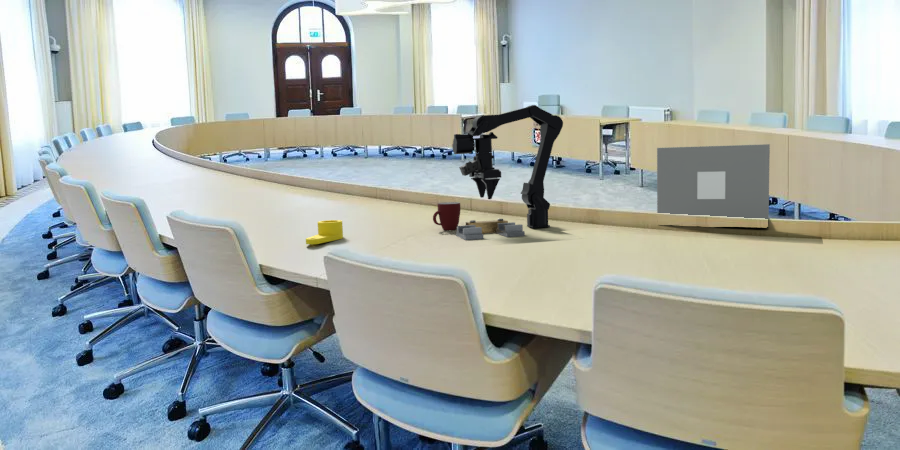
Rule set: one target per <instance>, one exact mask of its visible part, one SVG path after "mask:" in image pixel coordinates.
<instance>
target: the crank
mask: <svg viewBox="0 0 900 450" xmlns="http://www.w3.org/2000/svg"><path fill="white" fill-rule="evenodd" d="M343 227H344V226H343V220H342V219H328V220H319V221H317V234H315V235H312V236H309V237H307V238H305V244H306V245H319V244H324V243H328V242H333V241H338V240H341V239H343V238H344V232H343V231H344V229H343Z"/></svg>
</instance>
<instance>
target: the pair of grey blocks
mask: <svg viewBox="0 0 900 450" xmlns="http://www.w3.org/2000/svg"><path fill="white" fill-rule="evenodd" d="M523 225H524V224H516V222H515V221H513V222H508V223H497V229H496V232H495V234H498V235H500V236H503V237H505V238H517V237H525V236H526V235H525V230H523V228H524V227H523ZM455 236H456V237H458V238H460V239H462V240H464V241H472V240H484V233H482V227H476V225H466V224H464V225H458V226H457V229H456V231H455Z"/></svg>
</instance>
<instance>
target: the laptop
mask: <svg viewBox="0 0 900 450" xmlns="http://www.w3.org/2000/svg"><path fill="white" fill-rule="evenodd" d="M770 147H771V144H770V143H769V144H767V143H766V144H741V145H740V144H739V145H738V144H737V145H733V144H732V145H706V146H679V147H678V146H677V147H675V146H673V147H657V148H656V165H657V166H656V197H657V199H656V203H657V204H656V207H657V208H656V211H657V212H656V213H670V214H688V215H710V216H727V217H744V218H765V219H769V218H770V216H769V215H770V213H769V211H770V153H771V152H770V151H771V150H770V149H771V148H770ZM769 220H770V219H769Z"/></svg>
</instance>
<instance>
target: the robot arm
mask: <svg viewBox="0 0 900 450" xmlns="http://www.w3.org/2000/svg"><path fill="white" fill-rule="evenodd" d="M525 119H532V121H533V122H534V123H536V124H537V125H538V126H539V127H540V129H539V133H540V135H539V136H540V142H539V145H538V146H539V147H538V149H537V153H536V157H535V160H534V165H533V169H532V171H531V177H530V179H529V181H528V182H523V184H522V189H521V192H520V195H521V200H522V202H523V203H524V204H525V205H526V207H527V209H528V213H526V223H527V224H526V226H527V227H530V228H532V229H534V228H535V229H536V228H537V229H538V228H550V227H551V225H550V224H549V210H550V207H551V203H550V202H549V201H547V199H545V198H544V197H545V185H544V180H545V176H546V173H547V170H548V164H549V161H550V158H551V153H552V151H553V147H554V143H555V141H556V139H558V137H559V135H560V134H561V131H562V128H563V127H564V120H562V118H561V116H559V115H556V114H555V115H553V114H552V113H551V112H548V111H547V110H544V109H542V108H540V107H539V106H538V105H535V104H532V105H528V106H525V107H523V108H518V109H514V110H511V111H507V112H503V113H499V114H486V115H484V114H483V115H478V116H476V117H474V118H473V120H472V126H471V128H470V129H469V131H468V133H467V134H465V133H463V134H460V133H455V134H453V140H452V152H453V154H454V155H465V154H467V155H469V154H472V153H473V152H475V155H474V156H473V158H472V159H473V160H472V161H470V160H469V161H468V162H465V164H462V165H459V170H460V172H461V175H462V176H465V177H466V176H469V177H470V179H471V180H472V181H473V182H474V183H475V184H476V188H477V190H478V193H479V197H480V198H484V197H485V194H486V196H487V199H488V200H492V199H493V196H494V194H495V191H496V189H497V186H498V184H499V181H500V180H501V178H502V171H501V170H500V169H498V168H495V167H494V166H493V164H494V163H493V159H495V155H493V145H492V144H493V143H492V140H493V139H495V140H497V139H498V138H499V137H498V136H497V135H496V134H494V131H493V130H495V129H497V128H499V127H501V126H503V125H505V124H506V125H507V124H510V123H514V122H516V121H521V120H525ZM484 133H487V134H484ZM474 137H476V138H474Z"/></svg>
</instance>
